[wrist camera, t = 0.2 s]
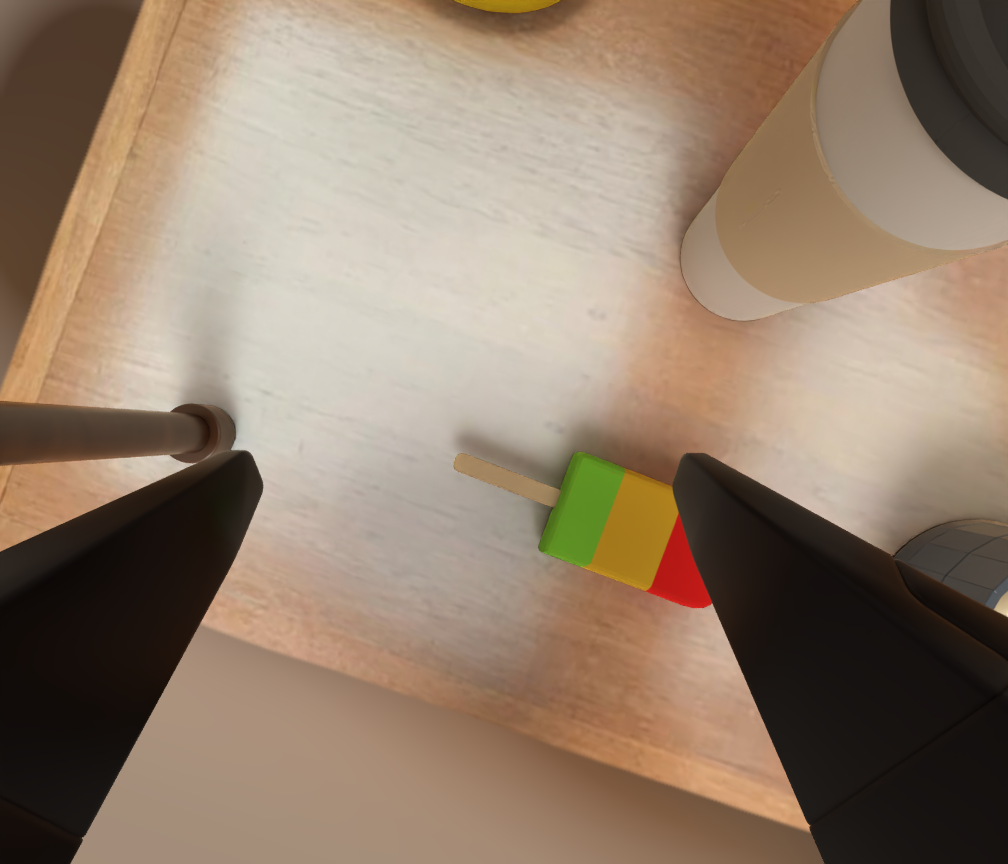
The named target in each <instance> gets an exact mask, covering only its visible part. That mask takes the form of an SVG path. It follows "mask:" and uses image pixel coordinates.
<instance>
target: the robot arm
mask: <svg viewBox="0 0 1008 864" xmlns="http://www.w3.org/2000/svg"><path fill="white" fill-rule="evenodd" d="M262 492H263V481H262V478H261V475H260V473H259V470H258V468H257V466H256V463H255V461H254V458H253V456H252V454H251V453H250V452H248V451H245V450H227V451H223V452H221V453H219V454H217V455H214V456H212V457H210V458H208V459H206V460H203V461H201V462H199V463H197V464H194V465H192V466H190V467H188V468H186V469H183V470H181V471H179V472H177V473H174V474H172V475H170V476H168V477H166V478H163V479H161V480H159V481H157V482H154V483H152V484H150V485H148V486H145V487H143V488H141V489H139V490H137V491H134V492H132V493H130V494H128V495H125V496H123V497H121V498H119V499H117V500H114V501H112V502H110V503H108V504H105V505H103V506H101V507H99V508H97V509H94V510H92V511H90V512H88V513H85V514H83V515H81V516H79V517H76V518H74V519H72V520H70V521H68V522H65V523H63V524H61V525H59V526H56V527H54V528H52V529H50V530H48V531H45V532H43V533H41V534H39V535H36V536H34V537H32V538H30V539H27V540H25V541H23V542H21V543H19V544H16V545H14V546H12V547H10V548H7V549H5V550H3V551H1V552H0V864H70V863H71V861H72V860H73V858H74V856H75V854H76V852H77V850H78V849H79V847H80V845H81V843H82V841H83V839H82V837H84V836H85V835H86V833H87V831H88V829H89V828H90V826H91V824H92V822H93V820H94V818H95V817H96V815H97V813H98V811H99V809H100V807H101V805H102V804H103V802H104V800H105V798H106V796H107V794H108V793H109V791H110V789H111V787H112V785H113V783H114V782H115V779H116V778H117V776H118V774H119V772H120V770H121V769H122V767H123V765H124V763H125V761H126V759H127V758H128V756H129V754H130V752H131V750H132V748H133V746H134V745H135V743H136V741H137V739H138V737H139V735H140V734H141V732H142V730H143V728H144V726H145V724H146V722H147V720H148V718H149V717H150V715H151V713H152V711H153V710H154V708H155V706H156V704H157V702H158V700H159V698H160V697H161V695H162V693H163V691H164V689H165V687H166V686H167V684H168V682H169V680H170V678H171V676H172V674H173V672H174V671H175V669H176V667H177V665H178V663H179V662H180V660H181V658H182V656H183V654H184V652H185V651H186V649H187V647H188V645H189V643H190V641H191V639H192V638H193V636H194V634H195V632H196V630H197V628H198V627H199V625H200V623H201V621H202V619H203V617H204V615H205V614H206V612H207V610H208V608H209V606H210V604H211V603H212V601H213V599H214V597H215V595H216V593H217V591H218V590H219V588H220V586H221V584H222V582H223V580H224V579H225V577H226V575H227V573H228V571H229V569H230V567H231V565H232V563H233V561H234V560H235V558H236V555H237V553H238V551H239V549H240V546H241V544H242V542H243V539H244V537H245V534H246V532H247V529H248V527H249V524H250V522H251V520H252V517H253V515H254V512H255V510H256V507H257V505H258V502H259V500H260V498H261V495H262ZM673 495H674V498H675V502H676V505H677V508H678V512H679V515H680V518H681V521H682V525H683V528H684V531H685V535H686V538H687V541H688V545H689V548H690V551H691V554H692V557H693V559H694V562H695V564H696V566H697V569H698V571H699V574H700V576H701V578H702V580H703V583H704V585H705V587H706V590H707V592H708V594H709V597H710V599H711V601H712V604H713V606H714V608H715V611H716V613H717V615H718V617H719V620H720V622H721V624H722V627H723V629H724V631H725V634H726V636H727V638H728V641H729V643H730V645H731V648H732V650H733V652H734V654H735V657H736V659H737V661H738V664H739V666H740V668H741V671H742V673H743V675H744V678H745V680H746V682H747V685H748V687H749V689H750V691H751V694H752V696H753V698H754V701H755V703H756V705H757V708H758V710H759V712H760V715H761V717H762V719H763V721H764V724H765V726H766V728H767V731H768V733H769V735H770V738H771V740H772V742H773V745H774V747H775V749H776V752H777V754H778V756H779V758H780V761H781V763H782V765H783V768H784V770H785V772H786V775H787V777H788V779H789V782H790V784H791V786H792V789H793V791H794V793H795V795H796V798H797V800H798V802H799V805H800V807H801V809H802V812H803V814H804V816H805V819H806V821H807V823H808V824H809V825H811V826H810V827H809V828H810V831H811V833H812V836H813V838H814V840H815V843H816V845H817V847H818V849H819V852H820V854H821V857H822V859H823V861H824V863H825V864H1008V617H1007V616H1005V615H1003V614H1001V613H999V612H997V611H995V610H993V609H991V608H989V607H987V606H985V605H983V604H981V603H979V602H977V601H975V600H973V599H971V598H970V597H968V596H966V595H964V594H962V593H960V592H958V591H956V590H954V589H953V588H951V587H949V586H947V585H945V584H943V583H941V582H940V581H938V580H936V579H934V578H932V577H930V576H928V575H926V574H925V573H923V572H921V571H919V570H917V569H915V568H914V567H912V566H910V565H908V564H906V563H905V562H903V561H901V560H899V559H894V558H893V557H892V556H891V555H890V554H888V553H886V552H884V551H882V550H881V549H879V548H877V547H875V546H873V545H872V544H870V543H868V542H866V541H864V540H862V539H861V538H859V537H857V536H855V535H853V534H851V533H850V532H848V531H846V530H844V529H842V528H841V527H839V526H837V525H835V524H833V523H831V522H830V521H828V520H826V519H824V518H822V517H820V516H819V515H817V514H815V513H813V512H811V511H809V510H808V509H806V508H804V507H802V506H800V505H799V504H797V503H795V502H793V501H791V500H789V499H788V498H786V497H784V496H782V495H780V494H779V493H777V492H775V491H773V490H771V489H769V488H768V487H766V486H764V485H762V484H760V483H758V482H757V481H755V480H753V479H751V478H749V477H748V476H746V475H744V474H742V473H740V472H738V471H737V470H735V469H733V468H731V467H729V466H727V465H726V464H724V463H722V462H720V461H718V460H717V459H715V458H713V457H711V456H709V455H707V454H705V453H686V454H684V455H683V456H682V458H681V460H680V463H679V466H678V469H677V472H676V475H675V478H674V481H673Z"/></svg>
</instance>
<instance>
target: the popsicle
mask: <svg viewBox="0 0 1008 864" xmlns="http://www.w3.org/2000/svg"><path fill="white" fill-rule="evenodd" d="M453 466H454V469H455V470H456V471H458V472H461V473H463V474H466V475H468V476H471V477H474V478H476V479H479V480H482V481H484V482H487V483H489V484H492V485H495V486H497V487H500V488H503V489H505V490H508V491H510V492H513V493H516V494H518V495H521V496H524V497H526V498H529V499H532V500H534V501H537V502H539V503H542V504H545V505H547V506H550V507H553V509H552V511H551V514H550V517H549V519H548V522H547V525H546V527H545V530H544V532H543V535H542V538H541V540H540V543H539V546H538V548H539V550H540V551H541V552H543V553H545V554H548V555H551V556H553V557H556V558H559V559H561V560H564V561H567V562H569V563H572V564H574V565H577V566H580V567H582V568H585V569H588V570H590V571H593V572H596V573H598V574H601V575H604V576H606V577H609V578H611V579H614V580H617V581H619V582H622V583H625V584H627V585H630V586H633V587H635V588H638V589H641V590H643V591H646V592H649V593H651V594H654V595H656V596H659V597H662V598H664V599H667V600H670V601H672V602H675V603H678V604H680V605H683V606H687V607H691V608H704V607H707V606H709V605H711V604H712V601H711V599H710V597H709V594H708V592H707V590H706V587H705V585H704V583H703V580H702V578H701V576H700V574H699V571H698V569H697V566H696V564H695V562H694V559H693V557H692V554H691V551H690V548H689V545H688V541H687V538H686V535H685V531H684V528H683V525H682V521H681V518H680V515H679V512H678V508H677V505H676V502H675V498H674V495H673V486H670V485H668V484H665V483H663V482H660V481H657V480H655V479H652V478H650V477H647V476H644V475H642V474H639V473H637V472H634V471H631V470H629V469H626V468H624V467H621V466H618V465H616V464H613V463H611V462H608V461H605V460H603V459H600V458H598V457H595V456H592V455H590V454H587V453H584V452H576V453H575V454H574V455H573V456H572V459H571V461H570V464H569V467H568V469H567V472H566V475H565V477H564V480H563V482H562V485H561V488H560V490H559V489H556V488H554V487H551V486H549V485H546V484H543V483H541V482H538V481H536V480H533V479H530V478H528V477H525V476H522V475H520V474H517V473H515V472H512V471H509V470H507V469H504V468H501V467H499V466H496V465H494V464H491V463H488V462H486V461H483V460H481V459H478V458H475V457H473V456H470V455H467V454H464V453H460V454H458V455H457V456H456V458H455V460H454V464H453Z"/></svg>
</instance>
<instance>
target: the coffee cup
mask: <svg viewBox="0 0 1008 864" xmlns="http://www.w3.org/2000/svg"><path fill="white" fill-rule="evenodd" d="M1005 245H1008V0H859V1H858V2H857V3H856V4H855V5H853V6H852V7H851V8H850V9H849V10H848V12H847V13H846V14H845V15H844V16H843V17H842V18H841V20H840V21H839V22H838V24H837V25H836V26H835V28H834V29H833V30H832V32H831V33H830V34H829V36H828V37H827V38H826V40H825V41H824V42H823V44H822V45H821V46H820V48H819V49H818V50H817V52H816V53H815V54H814V56H813V57H812V58H811V60H810V61H809V62H808V64H807V65H806V66H805V68H804V69H803V70H802V72H801V73H800V74H799V76H798V77H797V78H796V80H795V81H794V82H793V84H792V85H791V86H790V88H789V89H788V90H787V92H786V93H785V94H784V96H783V97H782V98H781V100H780V101H779V102H778V104H777V105H776V106H775V108H774V109H773V110H772V112H771V113H770V114H769V116H768V117H767V118H766V120H765V121H764V122H763V124H762V125H761V126H760V128H759V129H758V130H757V132H756V133H755V134H754V136H753V137H752V138H751V140H750V141H749V142H748V144H747V145H746V146H745V147H744V149H743V150H742V151H741V153H740V154H739V155H738V157H737V158H736V159H735V161H734V162H733V163H732V165H731V166H730V168H729V169H728V171H727V173H726V174H725V176H724V178H723V180H722V183H721V185H720V187H719V188H718V189H717V191H716V192H715V193H714V194H713V196H712V197H711V198H710V200H709V201H708V202H707V204H706V205H705V206H704V207H703V209H702V210H701V211H700V213H699V214H698V215H697V217H696V218H695V219H694V220H693V222H692V223H691V225H690V226H689V228H688V230H687V232H686V234H685V236H684V239H683V242H682V247H681V269H682V273H683V277H684V279H685V282H686V284H687V286H688V288H689V290H690V291H691V293H692V294H693V296H694V297H695V298H696V299H697V300H698V302H699V303H700V304H702V305H703V306H704V307H705V308H707V309H708V310H709V311H711V312H713V313H714V314H716V315H719V316H721V317H724V318H727V319H731V320H736V321H752V320H757V319H761V318H765V317H768V316H771V315H774V314H777V313H780V312H783V311H786V310H790V309H793V308H796V307H799V306H802V305H805V304H808V303H816V302H822V301H826V300H829V299H833V298H836V297H839V296H843V295H846V294H849V293H852V292H856V291H859V290H862V289H866V288H869V287H872V286H875V285H879V284H882V283H885V282H889V281H892V280H895V279H898V278H902V277H905V276H908V275H912V274H915V273H918V272H921V271H925V270H928V269H931V268H935V267H938V266H941V265H944V264H948V263H951V262H954V261H958V260H961V259H964V258H967V257H971V256H974V255H977V254H981V253H984V252H987V251H990V250H994V249H997V248H1000V247H1003V246H1005Z"/></svg>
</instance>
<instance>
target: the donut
mask: <svg viewBox="0 0 1008 864" xmlns="http://www.w3.org/2000/svg"><path fill="white" fill-rule="evenodd" d="M453 1H455V2H458V3H461V4H463V5H466V6H469V7H473V8H477V9H481V10H485V11H491V12H503V13H523V12H530V11H535V10H539V9H542V8H545V7H548V6H551V5H553V4H555V3H557V2H559V1H561V0H453Z"/></svg>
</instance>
